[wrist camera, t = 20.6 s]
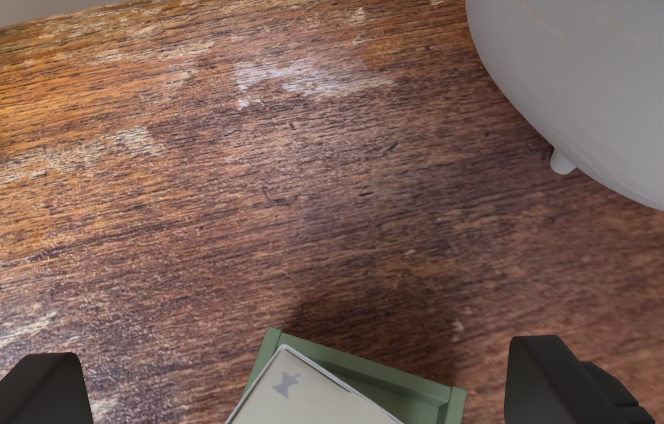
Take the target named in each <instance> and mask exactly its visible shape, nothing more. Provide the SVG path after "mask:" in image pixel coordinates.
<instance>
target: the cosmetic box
mask: <svg viewBox="0 0 664 424" xmlns="http://www.w3.org/2000/svg"><path fill="white" fill-rule="evenodd" d="M224 424H404V423H403V422H401V421H400V420H399V419H397V418H396V417H394V416H393V415H392V414H390V413H389V412H387V411H386V410H385V409H383V408H382V407H381V406H379V405H378V404H376V403H375V402H373V401H372V400H370V399H369V398H367V397H366V396H364V395H363V394H361V393H360V392H358V391H357V390H355V389H354V388H352V387H351V386H349V385H348V384H347V383H345V382H344V381H342V380H341V379H339V378H338V377H336V376H335V375H333V374H332V373H330V372H329V371H327V370H326V369H324V368H323V367H321V366H319V365H318V364H316V363H315V362H314V361H312V360H311V359H309V358H307V357H306V356H304V355H303V354H301V353H300V352H298V351H297V350H295V349H294V348H292V347H291V346H290V345H288V344H286V343H282V344H281V345H280V347H279V348H278V349H277V351H276V352H275V354H274V355H273V356H272V358H271V359H270V360H269V361H268V363H267V364H266V365H265V367H264V368H263V370H262V371H261V373H260V374H259V375H258V377H257V378H256V379H255V381H254V382H253V383H252V385H251V386H250V388H249V389H248V390H247V391H246V393H245V395H244V396H243V397H242V399H241V400H240V402H239V403H238V405H237V406H236V407H235V409H234V410H233V411H232V413H231V414H230V416H229V417H228V419H227V420H226V421H225V423H224Z"/></svg>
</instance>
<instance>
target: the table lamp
mask: <svg viewBox="0 0 664 424" xmlns="http://www.w3.org/2000/svg"><path fill="white" fill-rule="evenodd" d="M465 5H466V13H467V20H468V25H469V29H470V32H471V36H472V40H473V43H474V45H475V48H476V50H477V52H478V54H479V57H480V59H481V61H482V63H483V65H484V66H485V68H486V70H487V71H488V73H489V75H490V76H491V78H492V79H493V81H494V82H495V84H496V85H497V86H498V88H499V89H500V90H501V92H502V93H503V94H504V95H505V97H506V98H507V99H508V100H509V101H510V102H511V104H512V105H513V106H514V107H515V108H516V109H517V110H518V111H519V112H520V113H521V115H522V116H523V117H524V118H525V119H526V120H527V121H528V122H529V123H530V124H531V125H532V126H533V127H534V128H535V129H536V131H537V132H538V133H539V134H540V135H541V136H543V137H544V138H545V139H546V140H547V141H548V142H549V143H550V144H551V145H552V146H553V147H554V151H553V154H552V157H551V159H550V166H551V168H552V169H553V170H554V171H555V172H556V173H559V174H563V175H564V174H568V173H570V172H571V171H572V170H574V169H575V168H576V167H577V168H578V169H580V170H581V171H582V172H583V173H585V174H587V175H588V176H590V177H591V178H593V179H594V180H596V181H597V182H599V183H600V184H602V185H604V186H606V187H607V188H609V189H611V190H613V191H615V192H617V193H619V194H621V195H623V196H625V197H627V198H629V199H632V200H634V201H636V202H639V203H641V204H643V205H646V206H649V207H652V208H655V209H658V210H661V211H664V0H465Z"/></svg>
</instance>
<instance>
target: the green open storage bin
mask: <svg viewBox="0 0 664 424" xmlns="http://www.w3.org/2000/svg"><path fill="white" fill-rule="evenodd" d="M282 343H286V344H288V345H290V346H291V347H292V348H294V349H295V350H297V351H298V352H300V353H301V354H303V355H304V356H306V357H307V358H309V359H311V360H312V361H314V362H315V363H316V364H318V365H319V366H321V367H323V368H324V369H326V370H327V371H329V372H330V373H332V374H333V375H335V376H336V377H338V378H339V379H341V380H342V381H344V382H345V383H347V384H348V385H349V386H351V387H352V388H354V389H355V390H357V391H358V392H360V393H361V394H363V395H364V396H366V397H367V398H369V399H370V400H372V401H373V402H375V403H376V404H378V405H379V406H381V407H382V408H383V409H385V410H386V411H387V412H389V413H390V414H392V415H393V416H394V417H396V418H397V419H399V420H400V421H401V422H403V423H404V424H461V421H462V416H463V410H464V405H465V400H466V395H467V390H466V389H463V388H460V387H457V386H452V387H450V386H447V385H443V384H440V383H437V382H434V381H431V380H428V379H425V378H422V377H419V376H416V375H413V374H410V373H407V372H404V371H401V370H397V369H394V368H391V367H388V366H385V365H382V364H379V363H376V362H373V361H370V360H367V359H364V358H361V357H358V356H355V355H352V354H348V353H345V352H342V351H339V350H336V349H333V348H330V347H327V346H324V345H321V344H318V343H315V342H312V341H309V340H306V339H302V338H299V337H296V336H293V335H290V334H287V333H284V332H282V330H281V329H279V328H275V327H272V326H269V327H268V329H267V332H266V334H265V337H264V340H263V342H262V345H261V347H260V350H259V353H258V355H257V358H256V360H255V363H254V366H253V368H252V371H251V374H250V376H249V379H248V381H247V384H246V387H245V389H244V392H243V394H242V397H243V396H244V395H245V393H246V391H247V390H248V389H249V388H250V386H251V385H252V383H253V382H254V381H255V379H256V378H257V377H258V375H259V374H260V373H261V371H262V370H263V368H264V367H265V365H266V364H267V363H268V361H269V360H270V359H271V358H272V356H273V355H274V354H275V352H276V351H277V349H278V348H279V347H280V345H281V344H282ZM242 397H241V399H242Z"/></svg>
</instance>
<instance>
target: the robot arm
mask: <svg viewBox="0 0 664 424" xmlns="http://www.w3.org/2000/svg"><path fill="white" fill-rule="evenodd" d="M504 417H505V424H655V420H654V419H653V418H652V417H651V416H650V415H649V414H648V412H647V411H646V410H645V409H644V408H643V407H639V405H638V401H637V400H636V399H635V398H634V397H633V396H632V394H631V393H630V392H629V391H628V390H627V389H626V388H625V387H624V385H623V384H622V383H621V382H620V381H619V380H618V379H616V378H615V377H613V376H612V375H610V374H609V373H607V372H605V371H604V370H602V369H601V368H599V367H598V366H596V365H595V364H593V363H591V362H579V360H578V359H577V358H576V357H575V356H574V354H573V353H572V352H571V351H570V349H569V348H568V347H567V346H566V344H565V343H564V342H563V341H562V340H561V339H560V338H559V337H558V336H557V335H540V336H515V337H513V338H512V340H511V342H510V347H509V356H508V367H507V378H506V390H505V401H504ZM0 424H94V422H93V417H92V412H91V408H90V404H89V399H88V395H87V390H86V386H85V381H84V377H83V372H82V368H81V364H80V360H79V358H78V357H77V355H76V354H75V353H72V352H65V353H39V354H28V355H26V356H25V357H23V358H22V359H21V360H20V361H19V362H18V363H17V364H16V365H15V366H14V368H13V369H12V370H11V371H10V372H9V373H8V374H7V375H6V376H5V377H4V378H3V379H2V380H1V381H0Z"/></svg>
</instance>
